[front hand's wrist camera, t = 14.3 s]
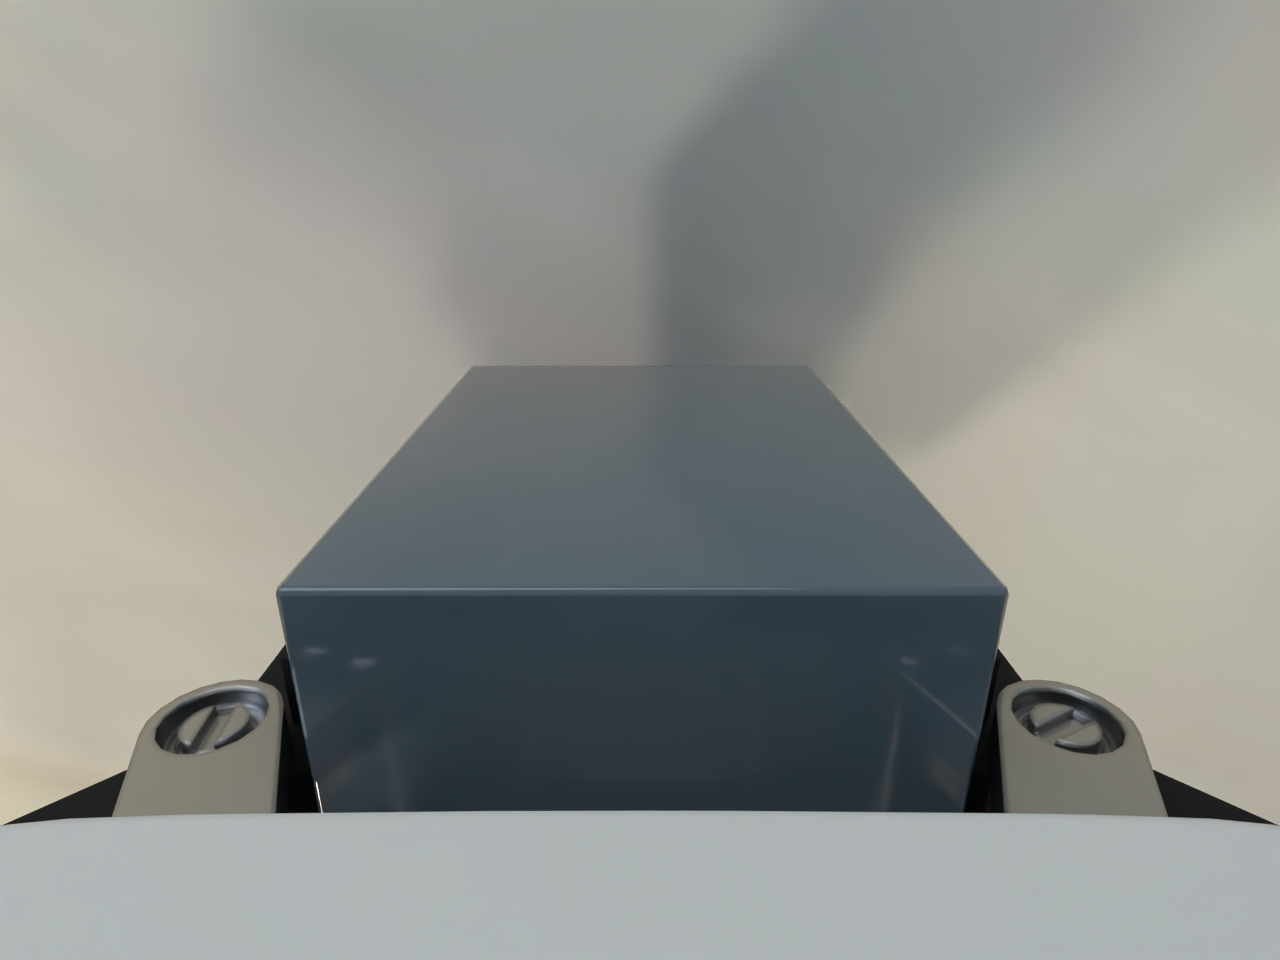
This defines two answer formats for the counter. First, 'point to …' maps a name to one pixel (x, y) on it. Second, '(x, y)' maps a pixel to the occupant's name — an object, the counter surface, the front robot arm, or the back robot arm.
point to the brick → (641, 607)
